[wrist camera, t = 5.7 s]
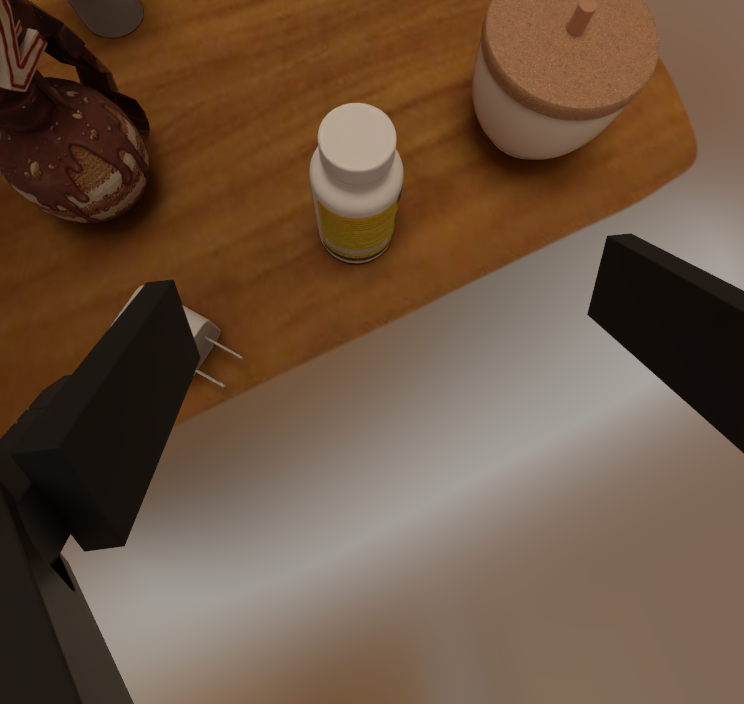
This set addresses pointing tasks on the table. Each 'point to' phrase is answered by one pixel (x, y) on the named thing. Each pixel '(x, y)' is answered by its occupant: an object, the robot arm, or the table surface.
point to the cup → (109, 16)
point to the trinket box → (559, 71)
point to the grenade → (66, 123)
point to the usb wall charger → (199, 335)
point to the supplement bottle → (356, 182)
